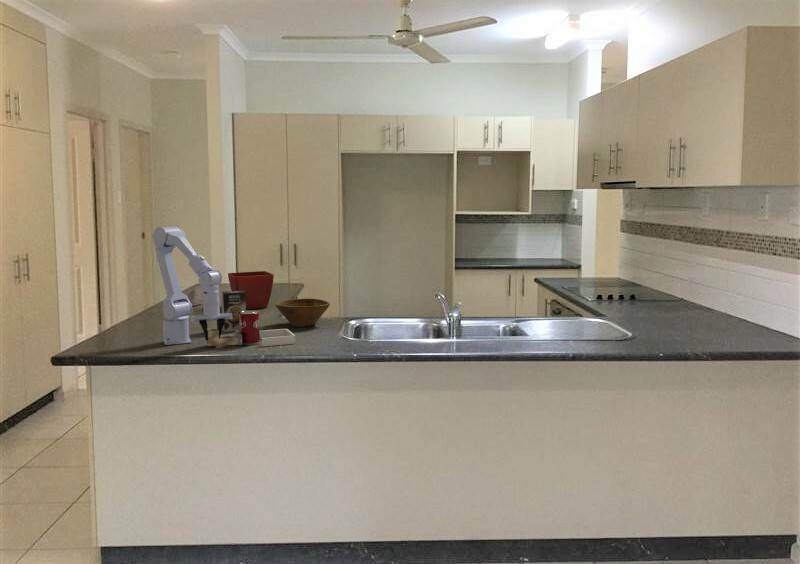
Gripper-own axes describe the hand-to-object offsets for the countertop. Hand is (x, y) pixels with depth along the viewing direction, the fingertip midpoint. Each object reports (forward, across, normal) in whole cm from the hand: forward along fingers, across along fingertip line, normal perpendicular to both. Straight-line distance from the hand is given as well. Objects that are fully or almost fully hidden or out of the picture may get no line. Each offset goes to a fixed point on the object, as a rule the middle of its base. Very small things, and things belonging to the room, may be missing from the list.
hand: (212, 339), depth 252 cm
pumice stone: (+3, +3, +102) cm, 102 cm away
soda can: (+3, +14, 0) cm, 14 cm away
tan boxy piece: (+2, +4, 0) cm, 4 cm away
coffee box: (+3, +12, +28) cm, 31 cm away
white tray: (+3, +23, 0) cm, 23 cm away
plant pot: (+3, +29, +83) cm, 88 cm away
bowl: (+3, +41, +27) cm, 49 cm away
